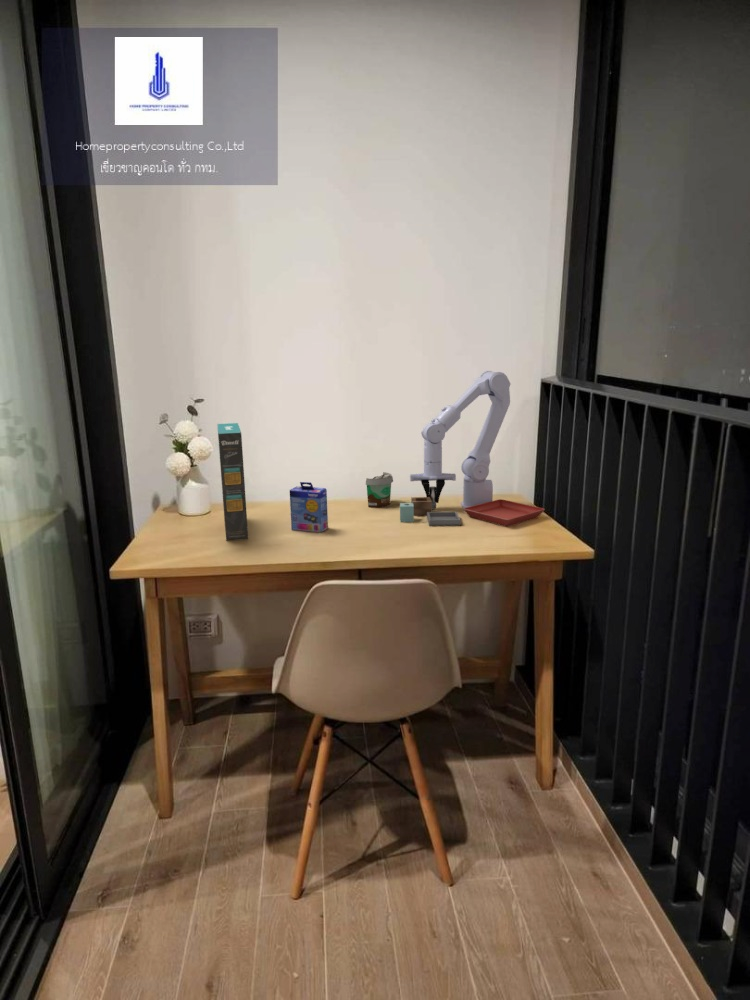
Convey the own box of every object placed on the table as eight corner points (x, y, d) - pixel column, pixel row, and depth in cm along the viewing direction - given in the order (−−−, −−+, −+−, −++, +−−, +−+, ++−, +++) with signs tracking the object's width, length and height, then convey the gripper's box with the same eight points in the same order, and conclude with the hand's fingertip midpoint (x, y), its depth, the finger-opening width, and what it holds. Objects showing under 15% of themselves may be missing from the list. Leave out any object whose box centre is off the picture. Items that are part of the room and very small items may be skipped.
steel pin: (435, 507, 209) (435, 486, 207) (436, 508, 207) (436, 487, 205) (429, 507, 209) (429, 486, 207) (429, 508, 207) (429, 487, 205)
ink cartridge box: (290, 530, 187) (287, 482, 183) (298, 525, 192) (296, 478, 188) (321, 533, 184) (319, 483, 180) (328, 527, 189) (327, 479, 185)
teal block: (412, 518, 197) (412, 502, 196) (413, 522, 193) (413, 506, 192) (399, 518, 197) (399, 502, 196) (400, 522, 193) (400, 506, 192)
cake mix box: (224, 520, 198) (217, 423, 191) (244, 518, 200) (237, 423, 193) (226, 540, 178) (218, 433, 171) (248, 538, 179) (241, 432, 172)
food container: (382, 510, 207) (381, 480, 205) (365, 508, 210) (365, 478, 208) (399, 502, 218) (399, 473, 215) (384, 500, 221) (383, 471, 218)
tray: (456, 517, 198) (456, 511, 197) (460, 525, 189) (460, 519, 188) (426, 517, 198) (427, 512, 197) (429, 526, 189) (429, 520, 189)
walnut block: (429, 510, 206) (430, 497, 205) (431, 515, 200) (431, 501, 199) (411, 510, 206) (411, 497, 205) (412, 515, 200) (412, 501, 199)
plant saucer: (461, 517, 199) (461, 507, 198) (500, 508, 210) (500, 498, 209) (507, 530, 185) (507, 519, 184) (545, 519, 196) (546, 508, 195)
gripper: (410, 463, 200) (411, 505, 204) (457, 463, 200) (456, 504, 204) (409, 459, 207) (409, 500, 210) (454, 459, 207) (453, 499, 210)
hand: (432, 502), depth 207 cm, fingers closed on steel pin, 2 cm apart
